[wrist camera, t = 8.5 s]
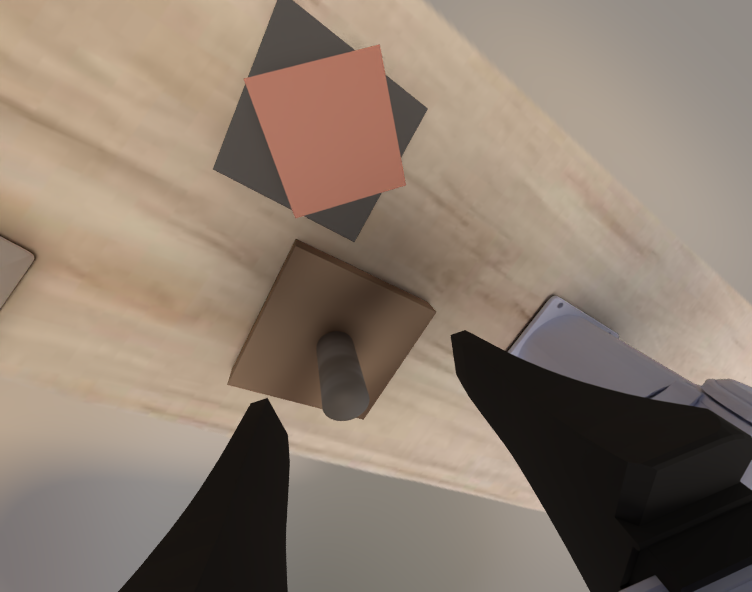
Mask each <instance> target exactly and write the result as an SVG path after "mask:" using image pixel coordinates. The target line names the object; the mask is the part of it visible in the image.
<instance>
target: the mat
mask: <svg viewBox="0 0 752 592" xmlns="http://www.w3.org/2000/svg"><path fill="white" fill-rule="evenodd" d="M352 51H355V50H354V49H353V48H351V47H350V46H349V45H348V44H346V43H345V42H344V41H343V40H341V39H340V38H339V37H338V36H336V35H335V34H334V33H333V32H331V31H330V30H329V29H328V28H326V27H325V26H324V25H323V24H321V23H320V22H319V21H318V20H316V19H315V18H314V17H313V16H311V15H310V14H309V13H308V12H306V11H305V10H304V9H303V8H301V7H300V6H299V5H298V4H296V3H295V2H294V1H293V0H277V3H276V5H275V8H274V11H273V13H272V16H271V18H270V21H269V24H268V26H267V29H266V32H265V34H264V37H263V39H262V42H261V45H260V47H259V50H258V52H257V55H256V58H255V60H254V63H253V66H252V68H251V71H250V73H249V76H248V77H252V76H256V75H260V74H264V73H268V72H272V71H276V70H280V69H284V68H288V67H292V66H296V65H300V64H304V63H308V62H312V61H316V60H320V59H324V58H328V57H332V56H336V55H340V54H344V53H348V52H352ZM385 76H386V75H385ZM386 81H387V86H388V92H389V97H390V102H391V108H392V113H393V119H394V124H395V129H396V135H397V140H398V145H399V151H400V156H401V157H402V155H403V153H404V151H405V149H406V147H407V146H408V144H409V142H410V140H411V138H412V137H413V135H414V133H415V131H416V129H417V127H418V126H419V124H420V122H421V120H422V118H423V117H424V115H425V113H426V111H427V109H428V108H426V107H425V106H424V105H423V104H421V103H420V102H419V101H418V100H416V99H415V98H414V97H413V96H411V95H410V94H409V93H408V92H406V91H405V90H404V89H403V88H401V87H400V86H399V85H398V84H396V83H395V82H394V81H393V80H391V79H390V78H389V77H388V76H386ZM213 170H215V171H217V172H219V173H221V174H223V175H225V176H227V177H229V178H231V179H233V180H235V181H237V182H239V183H241V184H243V185H245V186H246V187H248V188H250V189H252V190H254V191H256V192H258V193H260V194H262V195H264V196H266V197H268V198H270V199H272V200H274V201H276V202H277V203H279V204H281V205H283V206H285V207H287V208H289V209H291V210H292V208H291V205H290V203H289V200H288V197H287V195H286V192H285V189H284V186H283V184H282V181H281V178H280V176H279V173H278V170H277V168H276V165H275V162H274V159H273V157H272V154H271V151H270V149H269V146H268V143H267V141H266V138H265V135H264V132H263V130H262V127H261V124H260V122H259V119H258V116H257V114H256V111H255V108H254V105H253V103H252V100H251V97H250V95H249V92H248V89H247V87H246V84H245V86H244V89H243V92H242V94H241V97H240V100H239V102H238V105H237V107H236V110H235V113H234V115H233V118H232V120H231V123H230V126H229V128H228V131H227V134H226V136H225V139H224V141H223V144H222V147H221V149H220V152H219V154H218V157H217V160H216V162H215V165H214V168H213ZM380 195H381V193H378V194H375V195H372V196H368V197H365V198H362V199H358V200H355V201H352V202H348V203H345V204H342V205H338V206H335V207H332V208H328V209H325V210H322V211H318V212H315V213H312V214H308V215H305V217H307V218H308V219H310V220H312V221H314V222H316V223H318V224H320V225H322V226H324V227H326V228H328V229H330V230H332V231H334V232H336V233H338V234H339V235H341V236H343V237H345V238H347V239H349V240H351V241H353V242H355V240H356V238H357V237H358V235H359V233H360V231H361V229H362V227H363V226H364V224H365V222H366V220H367V218H368V217H369V215H370V213H371V211H372V209H373V207H374V206H375V204H376V202H377V200H378V198H379V197H380Z"/></svg>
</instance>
